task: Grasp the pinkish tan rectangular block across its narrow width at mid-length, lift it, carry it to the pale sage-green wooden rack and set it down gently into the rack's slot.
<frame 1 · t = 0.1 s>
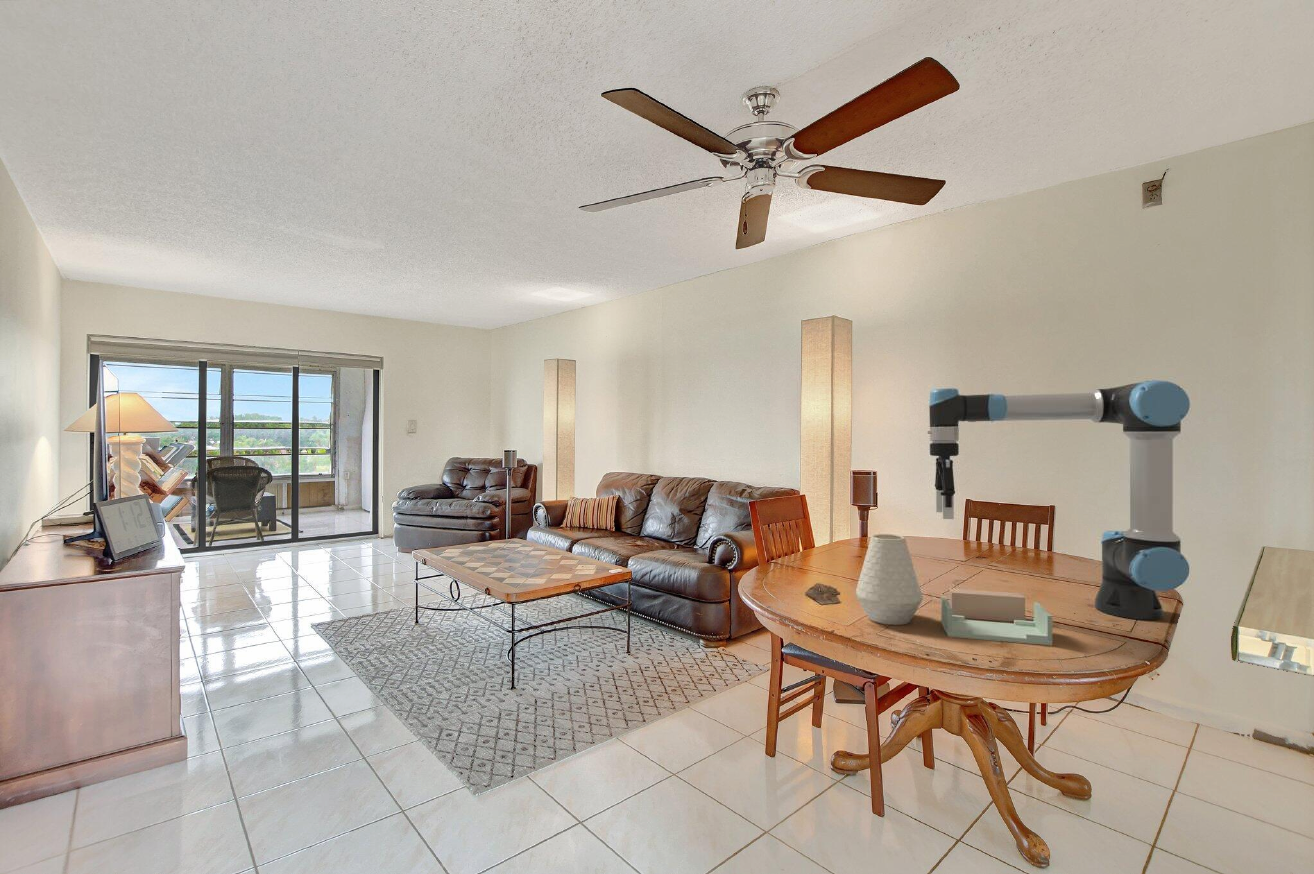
hand: (944, 515, 170), 28 cm above the table, fingers open, 13 cm apart
rack: (993, 633, 152), on the table
vase: (888, 619, 165), on the table
wooden fragment: (822, 595, 191), on the table
pinkish tan rectangular block: (986, 617, 165), on the table
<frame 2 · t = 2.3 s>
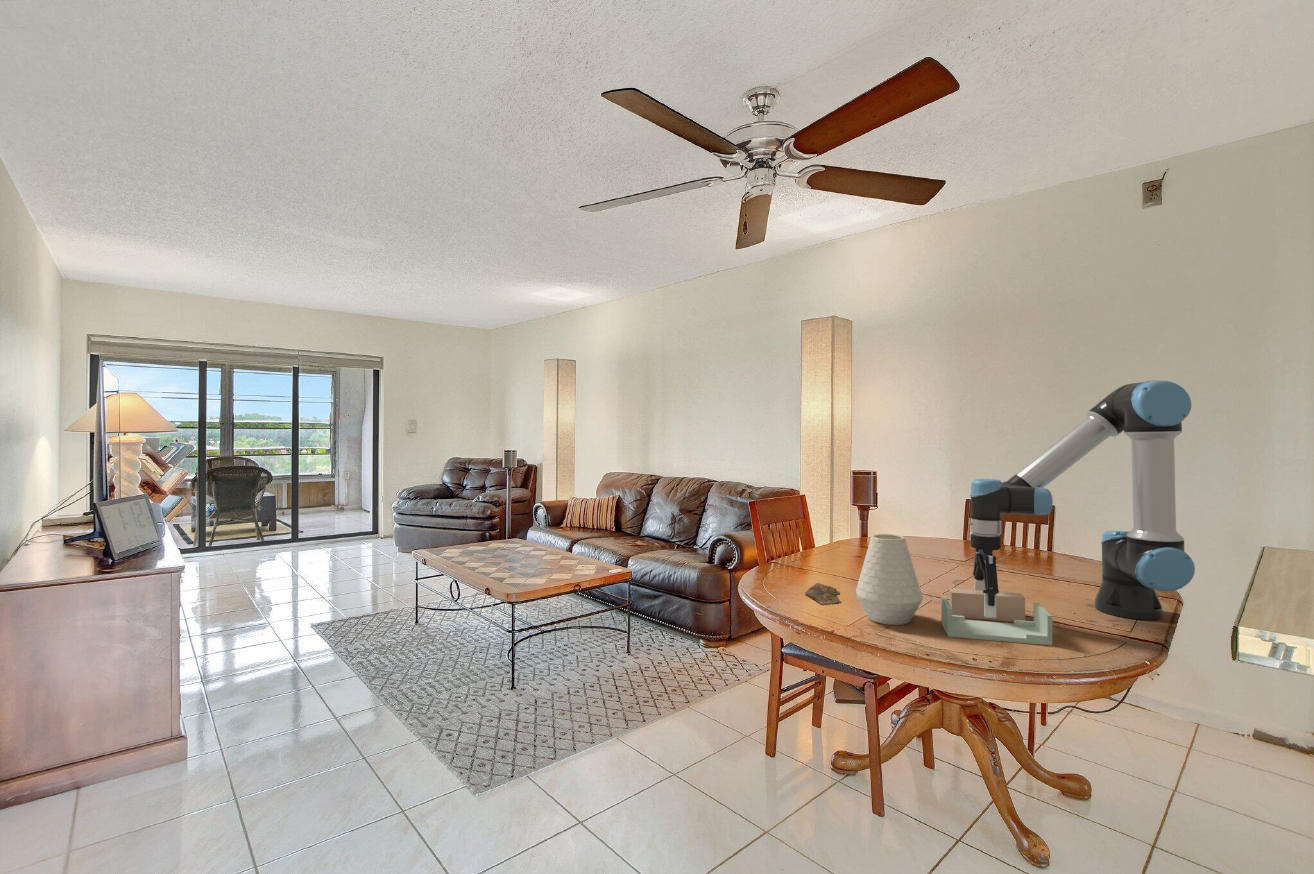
hand: (984, 609, 165), 2 cm above the table, fingers open, 13 cm apart
nothing on the table moved.
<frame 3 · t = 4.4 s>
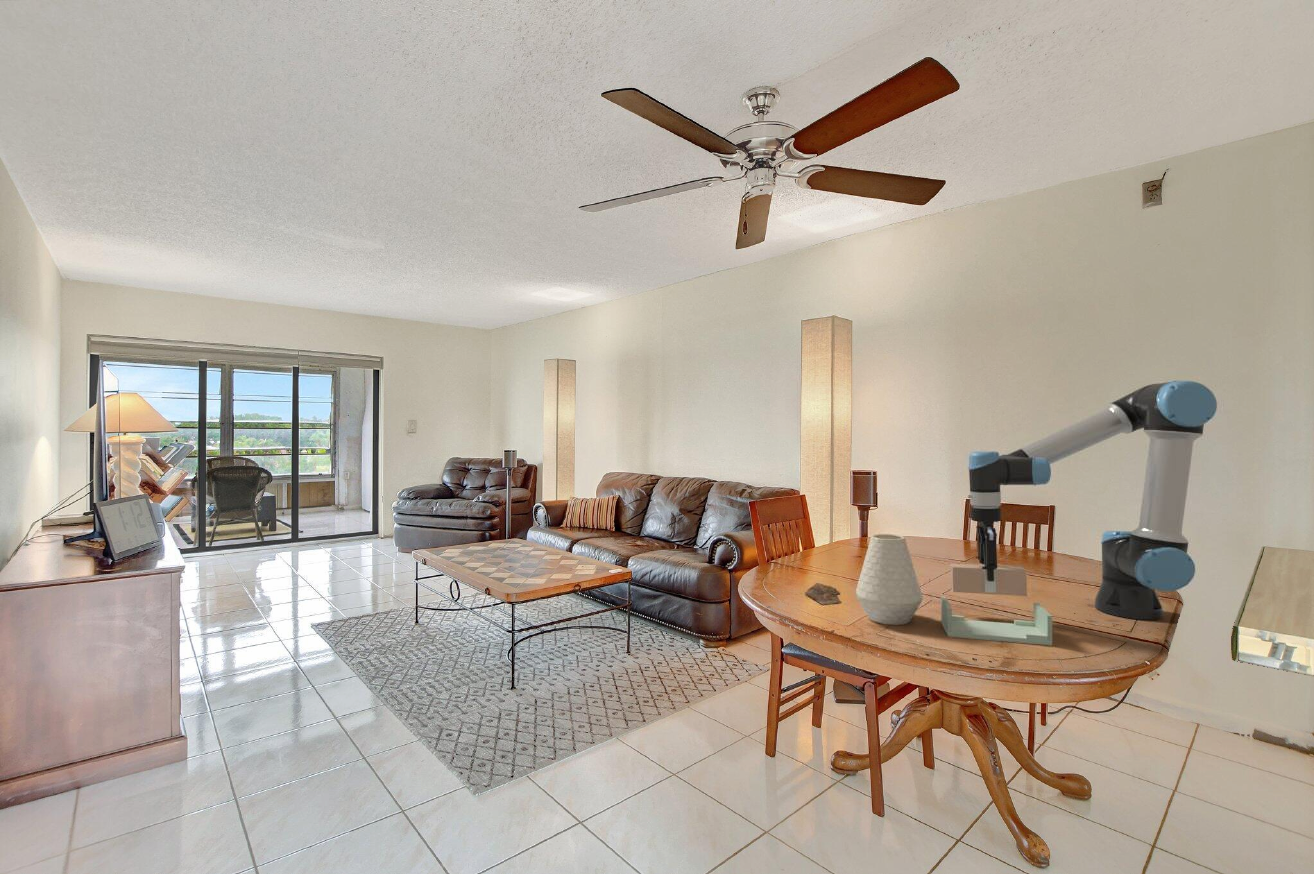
hand: (988, 589, 165), 8 cm above the table, fingers closed on pinkish tan rectangular block, 4 cm apart
pinkish tan rectangular block: (987, 591, 165), point 7 cm above the table, touching gripper
everything else where it was.
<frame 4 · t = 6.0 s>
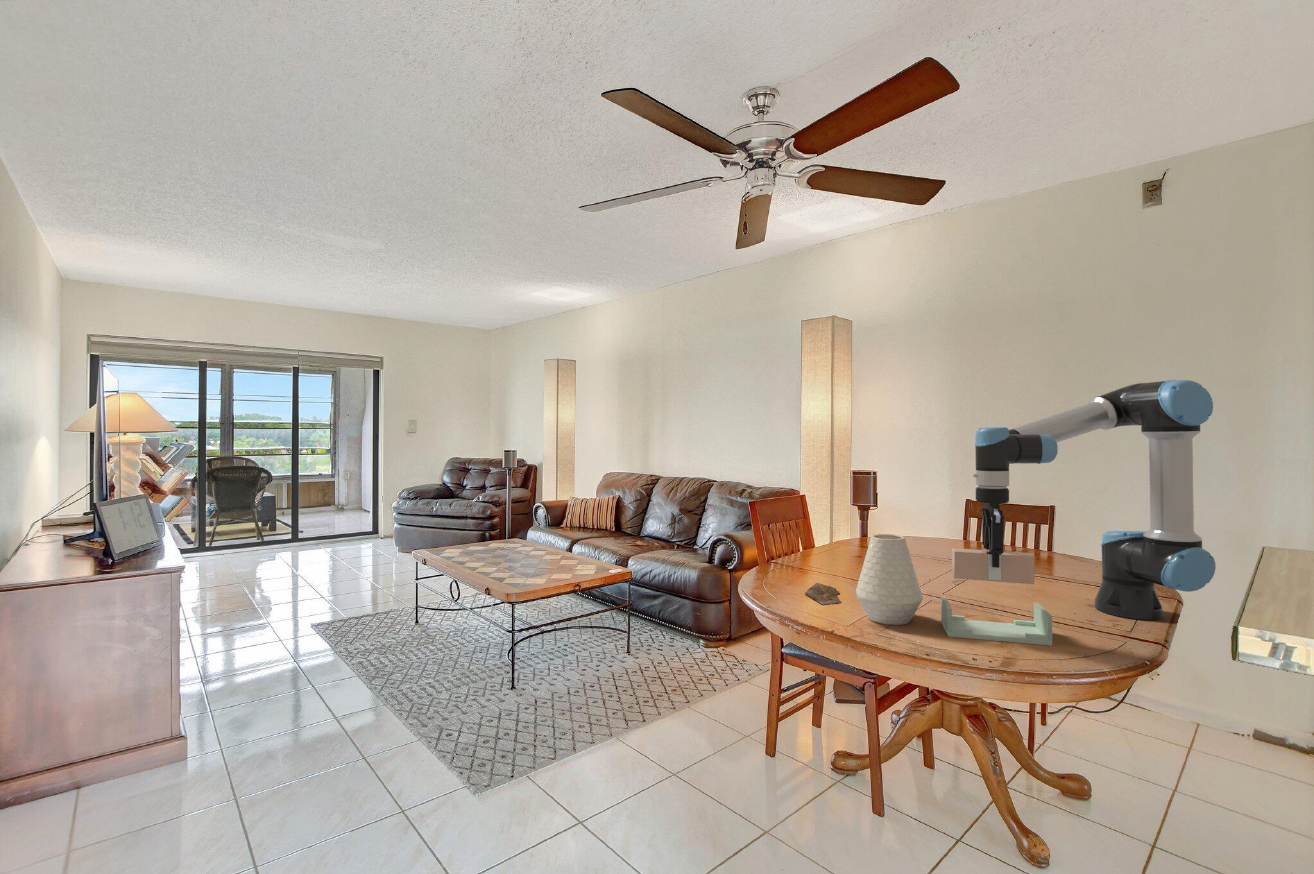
hand: (992, 576, 152), 15 cm above the table, fingers closed on pinkish tan rectangular block, 4 cm apart
pinkish tan rectangular block: (991, 579, 152), point 14 cm above the table, touching gripper
everything else where it was.
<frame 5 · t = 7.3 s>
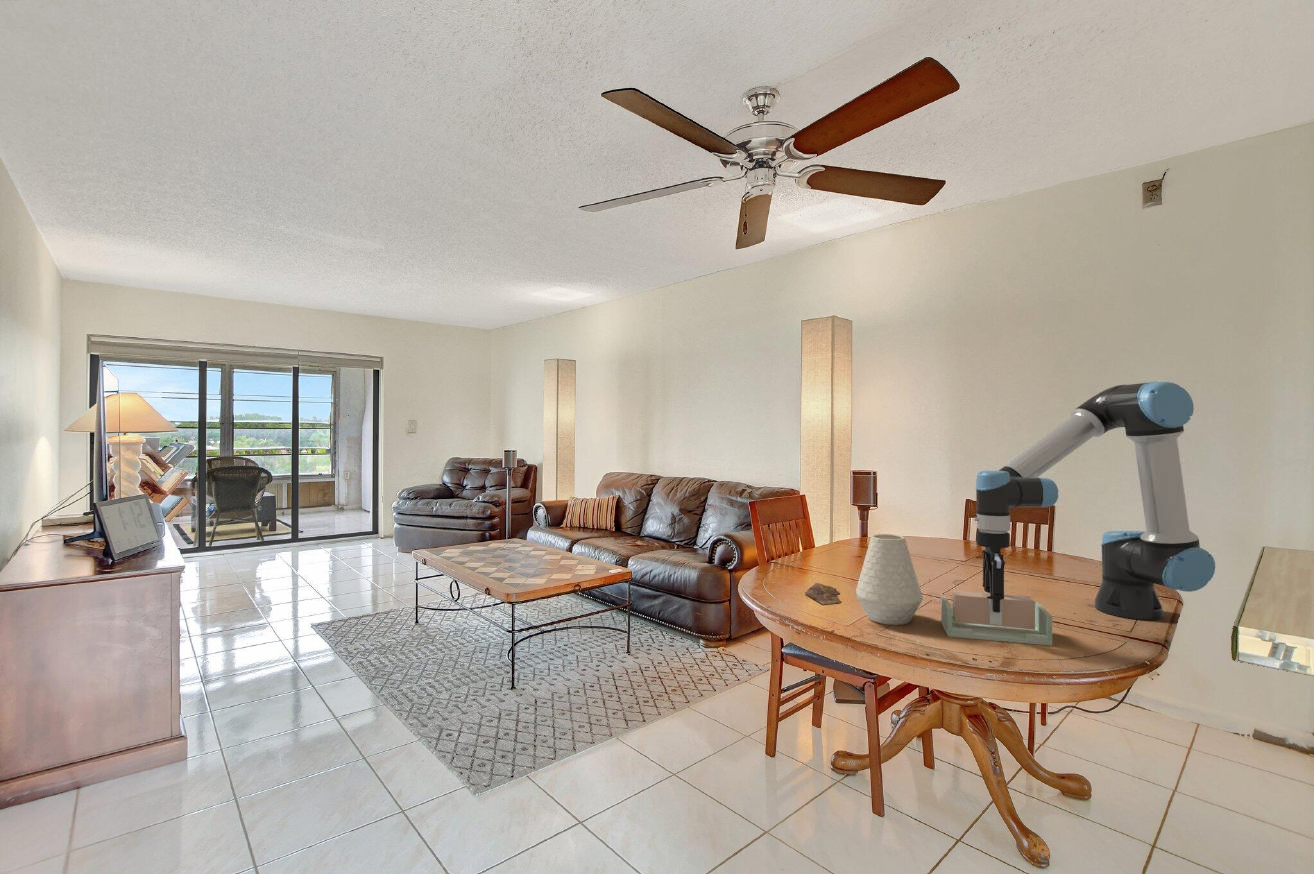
hand: (993, 620, 152), 3 cm above the table, fingers closed on pinkish tan rectangular block, 4 cm apart
pinkish tan rectangular block: (992, 622, 152), point 3 cm above the table, touching gripper
everything else where it was.
when the fingers open (2 cm above the table, at t = 7.7 s): pinkish tan rectangular block stays where it is, resting on rack.
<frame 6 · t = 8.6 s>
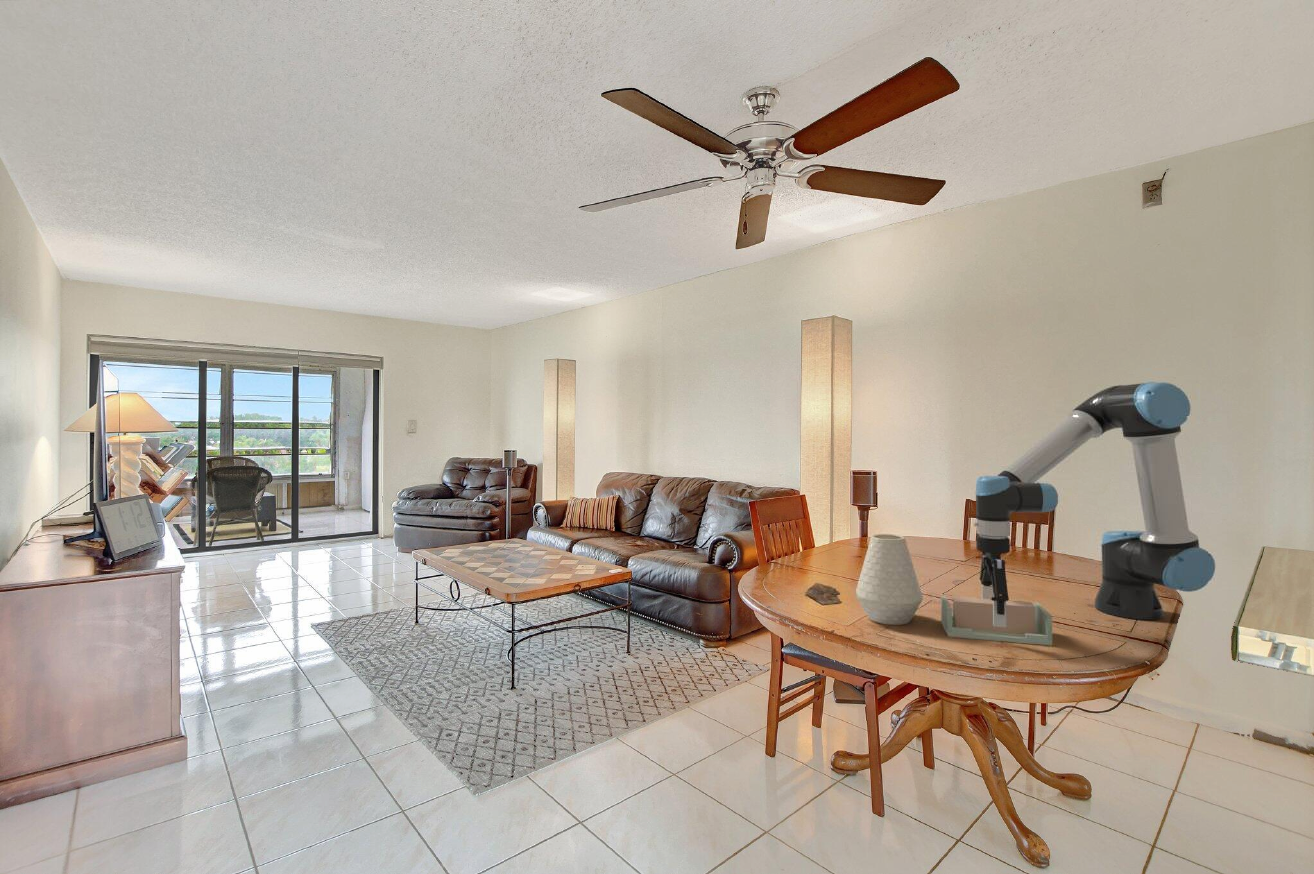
hand: (993, 618, 152), 4 cm above the table, fingers open, 13 cm apart
pinkish tan rectangular block: (992, 628, 152), point 1 cm above the table, touching rack
everything else where it was.
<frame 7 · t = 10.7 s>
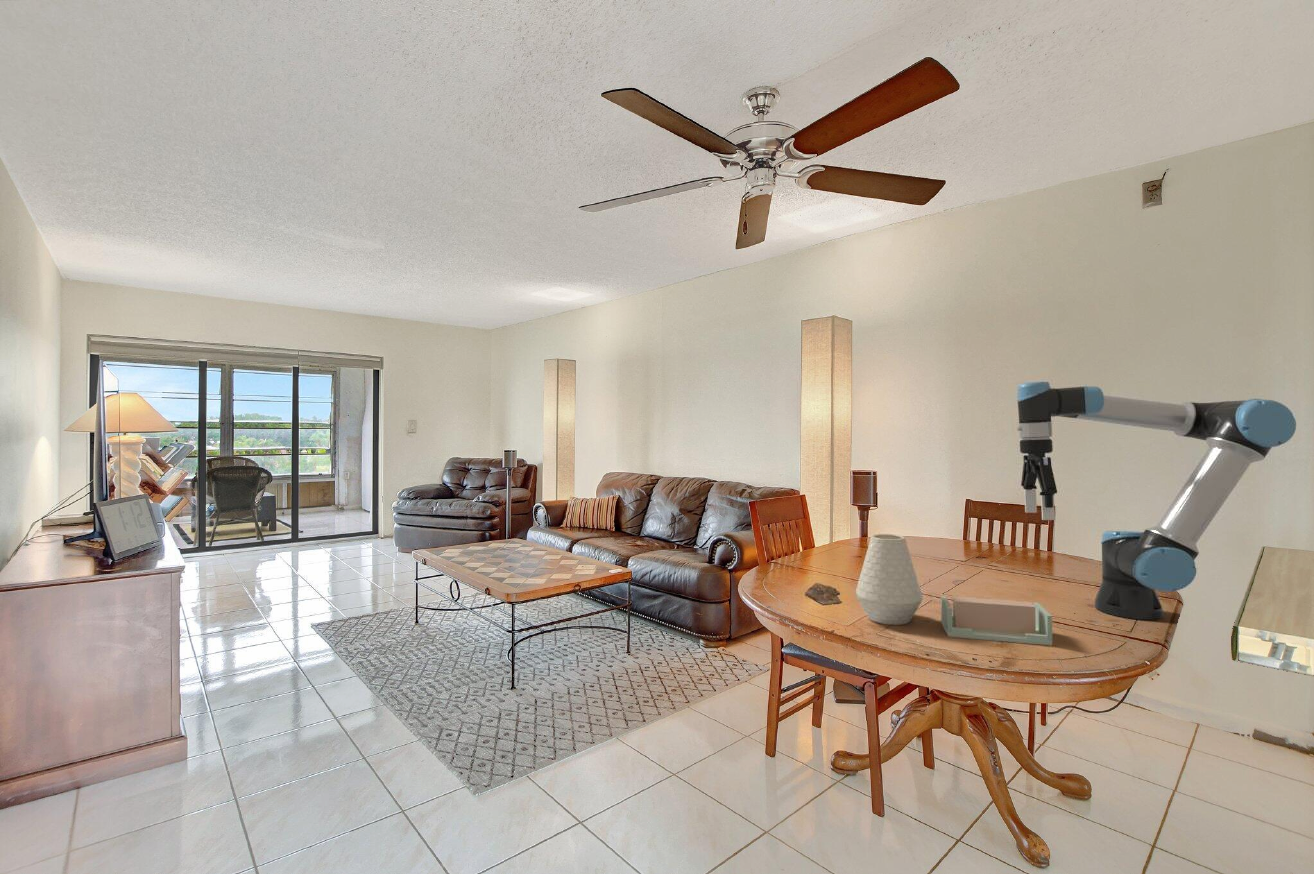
hand: (1039, 516, 161), 29 cm above the table, fingers open, 13 cm apart
nothing on the table moved.
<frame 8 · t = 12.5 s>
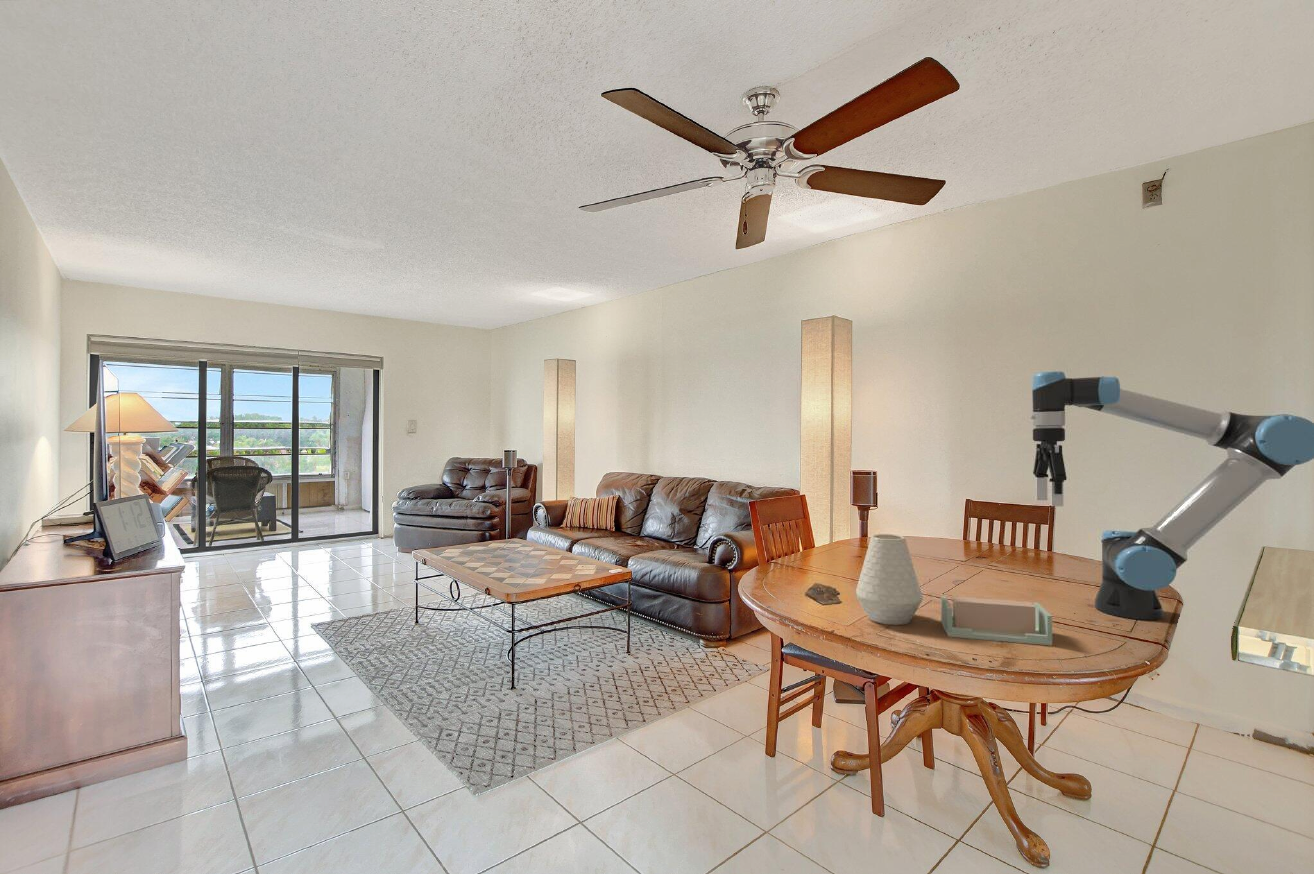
hand: (1049, 503, 165), 32 cm above the table, fingers open, 13 cm apart
nothing on the table moved.
at the end: pinkish tan rectangular block inside the target area on the rack (0.1 cm from its centre), point 1.2 cm above the rack's base; pinkish tan rectangular block tilted 0°; the gripper is holding nothing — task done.
